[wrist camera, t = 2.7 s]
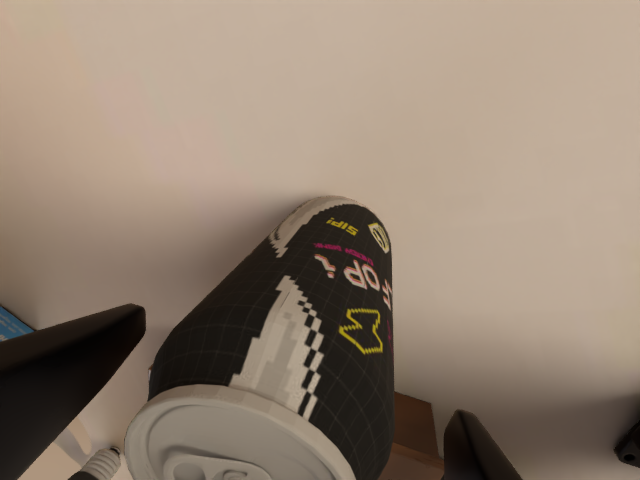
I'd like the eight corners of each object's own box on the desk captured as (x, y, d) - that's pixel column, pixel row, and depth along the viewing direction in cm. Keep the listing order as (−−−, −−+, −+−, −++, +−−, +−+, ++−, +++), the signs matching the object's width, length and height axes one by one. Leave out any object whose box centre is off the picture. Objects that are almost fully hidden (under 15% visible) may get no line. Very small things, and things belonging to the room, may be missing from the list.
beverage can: (290, 182, 16) (66, 329, 5) (403, 204, 15) (445, 440, 4) (279, 279, 18) (109, 530, 7) (377, 303, 17) (358, 625, 6)
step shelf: (435, 403, 19) (452, 506, 14) (389, 493, 23) (389, 599, 18) (189, 324, 21) (126, 390, 16) (186, 420, 25) (134, 498, 20)
